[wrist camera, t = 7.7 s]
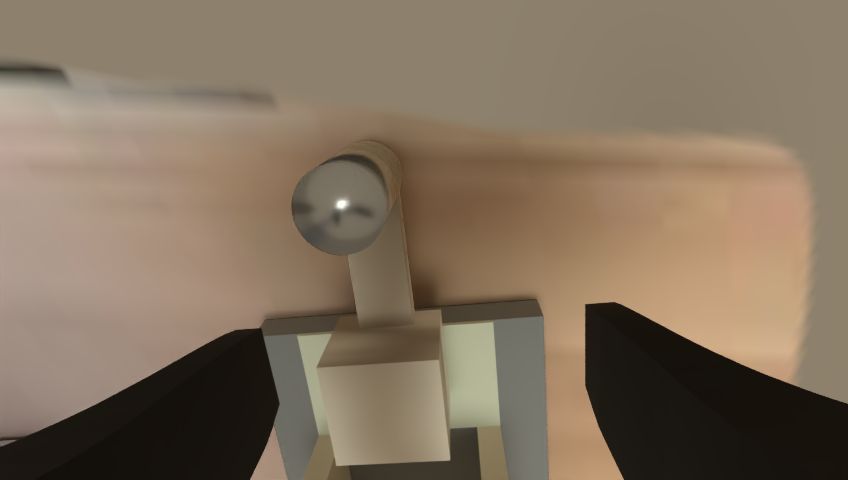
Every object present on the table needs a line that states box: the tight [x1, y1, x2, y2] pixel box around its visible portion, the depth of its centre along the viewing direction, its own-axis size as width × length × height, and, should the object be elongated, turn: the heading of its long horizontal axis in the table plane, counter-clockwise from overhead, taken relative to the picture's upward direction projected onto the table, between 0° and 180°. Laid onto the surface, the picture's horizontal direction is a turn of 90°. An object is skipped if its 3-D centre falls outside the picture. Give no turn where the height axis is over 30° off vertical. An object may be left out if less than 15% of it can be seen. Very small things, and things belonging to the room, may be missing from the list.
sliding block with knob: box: [292, 141, 450, 466], centre depth 16 cm, size 4×11×5 cm, turn 6°
